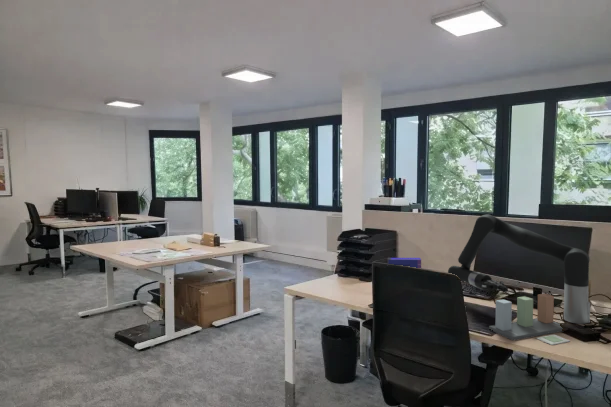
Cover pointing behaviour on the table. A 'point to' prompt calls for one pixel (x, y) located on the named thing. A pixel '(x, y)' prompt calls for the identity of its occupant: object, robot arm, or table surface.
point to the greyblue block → (503, 314)
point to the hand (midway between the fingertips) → (506, 289)
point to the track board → (528, 330)
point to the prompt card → (553, 339)
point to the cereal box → (405, 262)
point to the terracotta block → (545, 308)
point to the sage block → (525, 311)
